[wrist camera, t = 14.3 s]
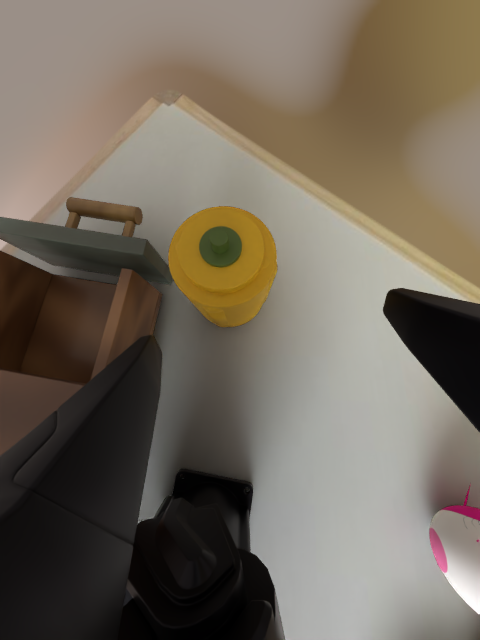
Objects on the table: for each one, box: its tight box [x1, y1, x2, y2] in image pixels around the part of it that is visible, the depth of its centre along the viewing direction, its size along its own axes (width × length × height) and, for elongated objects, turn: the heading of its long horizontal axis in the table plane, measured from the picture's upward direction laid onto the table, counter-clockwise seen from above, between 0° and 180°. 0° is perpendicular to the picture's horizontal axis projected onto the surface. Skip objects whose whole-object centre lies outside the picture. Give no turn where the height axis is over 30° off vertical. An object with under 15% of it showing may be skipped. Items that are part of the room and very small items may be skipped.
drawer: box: [0, 197, 173, 384], centre depth 18 cm, size 20×12×6 cm, turn 170°
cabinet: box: [0, 368, 86, 456], centre depth 15 cm, size 16×13×8 cm
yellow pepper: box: [168, 206, 277, 327], centre depth 17 cm, size 7×7×10 cm
